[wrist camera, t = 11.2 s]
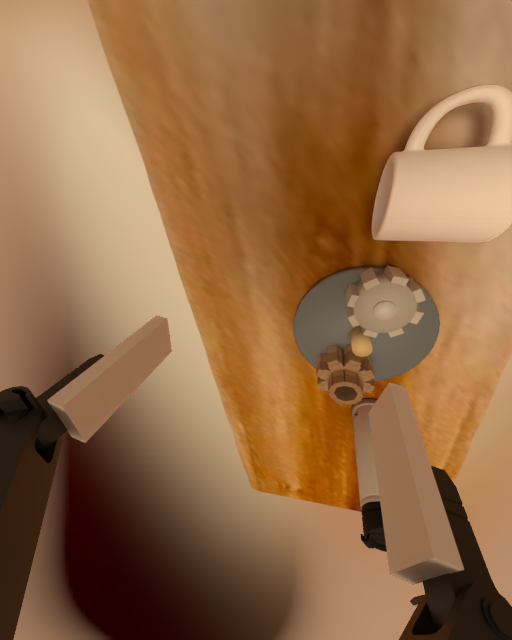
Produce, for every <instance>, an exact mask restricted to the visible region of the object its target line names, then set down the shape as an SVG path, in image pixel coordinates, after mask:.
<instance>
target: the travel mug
mask: <svg viewBox="0 0 512 640" xmlns="http://www.w3.org/2000/svg"><path fill="white" fill-rule="evenodd" d="M376 401H377V400H375V399H361V401H360V402H358V403H357V404H353V406H352V415H353V427H354V438H355V449H356V460H357V471H358V482H359V493H360V502H361V511H362V516H363V517H362V521H363V530H364V536H363V535H362V534H361V540H362V541H363V542H364V544H365V545H366V546H367V547H368V548H376V549H379V550H382V551H386V552H387V549H386V541H385V534H384V526H383V519H382V511H381V504H380V496H379V489H378V481H377V474H376V466H375V459H374V451H373V444H372V436H371V429H370V421H369V414H368V413H369V412H370V410H371V409H372V407H373V406H374V404H375V403H376Z"/></svg>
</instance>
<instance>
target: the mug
mask: <svg viewBox="0 0 512 640" xmlns="http://www.w3.org/2000/svg"><path fill="white" fill-rule="evenodd" d="M470 103H485V104H487V105H489V106H490V107H491V109H492V112H493V123H492V129H491V133H490V137H489V140H488V143H487V144H486V145H485V146H481V147H465V148H450V149H434V150H425V149H424V145H425V142H426V140H427V138H428V136H429V134H430V133H431V131H432V129H433V128H434V126H435V125H436V123H437V122H438V121H439V120H440V119H441V118H442V117H443V116H444V115H445V114H446V113H447V112H449V111H450V110H452V109H454V108H456V107H459V106H462V105H465V104H470ZM511 140H512V93H511V92H510V91H509V90H508V89H507V88H505V87H502V86H499V85H491V84H489V85H480V86H475V87H471V88H468V89H465V90H462V91H460V92H457V93H455V94H453V95H451V96H449V97H447V98H446V99H444V100H442V101H441V102H439V103H438V104H437V105H435V106H434V107H433V108H432V109H430V110H429V111H428V112H427V113H426V114H425V115H424V116H423V117H422V118H421V120H420V121H419V122H418V123H417V125H416V126H415V128H414V129H413V131H412V133H411V135H410V137H409V139H408V141H407V144H406V146H405V149H404V150H403V151H402V152H394V153H393V154H391V156H390V157H389V159H388V160H387V162H386V165H385V167H384V170H383V173H382V176H381V179H380V182H379V186H378V190H377V194H376V198H375V203H374V209H373V216H372V227H371V230H372V237H373V239H374V240H390V241H429V242H467V243H483V242H487V241H490V240H492V239H494V238H496V237H497V236H499V235H500V234H501V233H503V232H504V231H505V230H506V229H507V228H508V227H509V226H510V225H511V224H512V143H511Z"/></svg>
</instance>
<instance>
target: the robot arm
mask: <svg viewBox="0 0 512 640" xmlns="http://www.w3.org/2000/svg"><path fill="white" fill-rule="evenodd" d="M170 352H171V343H170V335H169V328H168V321H167V318H163V317H160V316H155V317H154V318H153V319H151V320H150V321H149V322H147V323H146V324H145V325H144V326H142V327H141V328H140V329H139V330H137V331H136V332H135V333H133V334H132V335H131V336H129V337H128V338H127V339H126V340H124V341H123V342H122V343H120V344H119V345H118V346H117V347H115V348H114V349H113V350H111V351H110V352H109V353H107V354H106V355H102V354H99V355H97V356H95V357H93V358H90V359H88V360H87V361H86V362H84V363H83V364H82V365H80V366H79V368H76V369H75V370H74V371H72V372H71V374H68V375H67V376H66V377H64V378H63V379H61V380H60V381H59V382H57V383H56V384H55V385H53V386H52V387H51V388H49V389H48V390H47V391H45V392H44V393H43V394H41V395H40V396H38V397H37V398H35V397H34V395H33V394H32V393H31V391H30V390H29V389H28V388H27V387H23V386H20V387H12V388H9V389H6V390H3V391H1V392H0V640H13V638H14V634H15V630H16V626H17V622H18V618H19V614H20V610H21V606H22V602H23V598H24V594H25V590H26V586H27V582H28V578H29V574H30V570H31V566H32V562H33V558H34V554H35V550H36V546H37V542H38V538H39V534H40V530H41V526H42V521H43V517H44V514H45V510H46V505H47V501H48V498H49V493H50V490H51V486H52V481H53V477H54V473H55V469H56V465H57V461H58V457H59V453H60V449H61V445H62V441H63V438H62V437H63V436H62V434H64V433H65V432H66V431H68V432H69V433H70V435H71V437H73V438H75V439H78V440H80V441H82V442H85V443H86V441H88V439H89V438H90V437H91V436H92V435H93V434H94V433H95V432H96V431H97V430H98V429H99V428H100V427H101V426H102V425H103V423H104V422H105V421H106V420H107V419H108V418H109V417H110V416H111V415H112V414H113V413H114V412H115V411H116V410H117V409H118V408H119V407H120V405H121V404H122V403H123V402H124V401H125V400H126V399H127V398H128V397H129V396H130V395H131V394H132V393H133V392H134V391H135V390H136V389H137V387H138V386H139V385H140V384H141V383H142V382H143V381H144V380H145V379H146V378H147V377H148V376H149V375H150V374H151V373H152V371H153V370H154V369H155V368H156V367H157V366H158V365H159V364H160V363H161V362H162V361H163V360H164V359H165V358H166V357H167V356H168V355H169V353H170ZM368 414H369V421H370V429H371V436H372V444H373V451H374V459H375V466H376V474H377V481H378V489H379V496H380V504H381V511H382V519H383V526H384V534H385V541H386V549H387V556H388V564H389V571H390V575H392V576H395V577H397V578H399V579H401V580H404V581H406V582H408V583H411V584H417V583H420V582H423V585H424V590H425V595H421V596H417V597H414V598H413V599H412V600H411V601H410V602H411V603H412V604H413V605H417V604H418V606H417V608H416V610H415V611H414V613H413V615H412V617H411V619H410V621H409V622H408V624H407V626H406V628H405V629H404V631H403V633H402V635H401V637H400V639H399V640H512V607H511V605H510V604H509V603H508V602H507V600H506V599H505V598H503V596H501V595H500V594H499V593H498V591H497V589H496V588H495V586H494V583H493V581H492V579H491V577H490V574H489V572H488V569H487V567H486V564H485V561H484V559H483V556H482V553H481V551H480V548H479V546H478V543H477V541H476V538H475V535H474V533H473V530H472V527H471V525H470V522H469V521H468V520H467V518H468V517H467V514H466V512H465V509H464V507H462V501H461V499H460V496H459V493H458V491H457V488H456V486H455V485H454V483H453V482H452V480H451V479H450V477H449V476H448V474H447V473H446V472H445V470H442V469H439V468H436V467H433V466H431V465H430V462H429V459H428V456H427V453H426V450H425V447H424V444H423V440H422V437H421V434H420V431H419V428H418V425H417V422H416V419H415V416H414V413H413V410H412V407H411V403H410V400H409V397H408V394H407V391H406V388H405V387H404V386H400V385H397V384H393V383H390V382H389V384H388V385H387V387H386V388H385V390H384V391H383V393H382V394H381V395H380V397H379V398H378V400H377V401H376V403H375V404H374V406H373V407H372V409H371V410H370V412H369V413H368Z"/></svg>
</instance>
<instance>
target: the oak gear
mask: <svg viewBox="0 0 512 640" xmlns="http://www.w3.org/2000/svg"><path fill="white" fill-rule="evenodd" d="M316 376H317V377H318V382H317V384H318V386H319V387H320V389H321V390H322V391H324V390H326V391H328V394H329V395H330V397H331V398H332V400H333V401H334V400H335V402H337V403H340V404H343V405H346V404H347V405H352V404H357V403H358V402H360V401H361V399H362V398H363V396H364V393H365V392H367V393H371V392H372V390H373V389H374V388H375V384H374V379H373V378H375V374H374V370H373V366H372V361H371V359H370V357H369V355H368V356H365V357H359V356H356V355H355V354H354V353H353V352H352V346H351V344H348V345H347V347H345V348H344V350H343V351H342V349H341V347H338V345H337V344H335V345H332V346H329V347H327V354H322V353H320V355H319V358H318V361H317V373H316Z"/></svg>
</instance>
